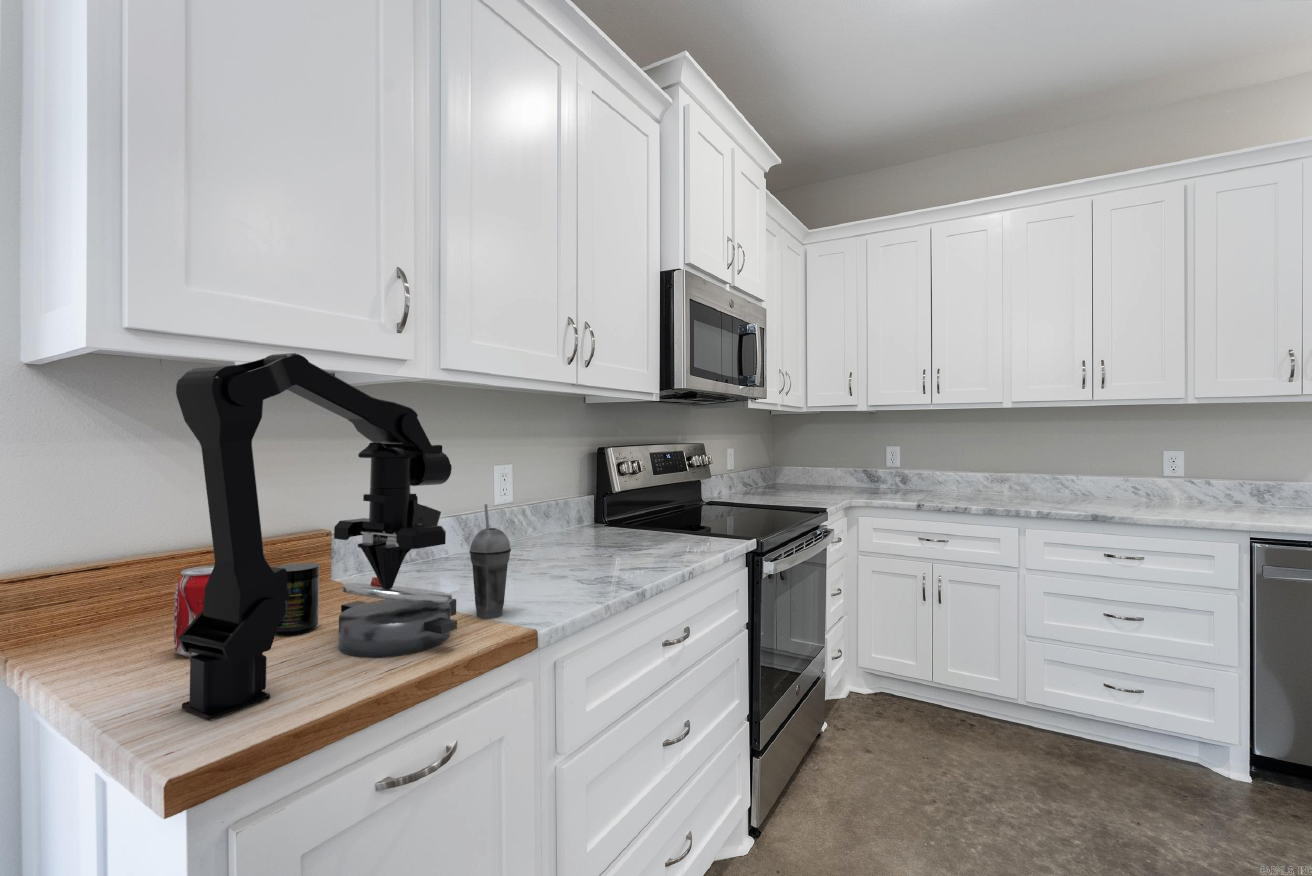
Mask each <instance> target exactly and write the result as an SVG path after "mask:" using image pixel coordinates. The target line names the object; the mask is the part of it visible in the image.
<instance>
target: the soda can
mask: <svg viewBox="0 0 1312 876" xmlns="http://www.w3.org/2000/svg"><path fill="white" fill-rule="evenodd" d="M213 568H214V565H205V566H204V565H203V566H202V565H201V566H196V567H191V568H187V569H183V570H182V571H181V570H180V577H179V578H178V580H177V582H176V583H175V587H174V602H173V603H174V605H173V611H174V612H173V641H174V642H173V643H174V651H175V653H177V654H179V655H182V656H183V657H185V658H190V657H191V656H195V655H198V654H196V653H192V652H184V650H183V648H182V646H181V643H180V641H179V636H180V635H181V633H182V632H183V631H184V630H185V629H186V628H187V627H188V626H189V625H190V623H191V622H192V621H193V620H194V619H195V618H196V617H197V616H198V615H199V613H200V612H201V611H202V610H203V607H204V593H205V586H206V584H207V582H208V579H209V577H210V575H211V573H212V571H213ZM230 635H231V634H230Z"/></svg>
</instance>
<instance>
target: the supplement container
mask: <svg viewBox="0 0 1312 876" xmlns="http://www.w3.org/2000/svg"><path fill="white" fill-rule="evenodd" d="M275 567H277V568H284V569H286V572H287V576H288V577H287V590H288V594H289V595H290V597H291V601H286V604H287V606H286V614H285V617H284V618H283V619H282V620H281V621H280V623H279V626H278V629H277V632H276V635H275V636H278V637H294V636H301V635H304V634H308V633H310V632H313V631H314V630H315V629H317V628H318V625H319V614H320V613H319V607H320V604H319V603H320V602H319V601H320V600H319V599H320V598H319V595H320V564H319V563H316V562H294V563H287V564H281V565H276V566H275Z"/></svg>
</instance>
